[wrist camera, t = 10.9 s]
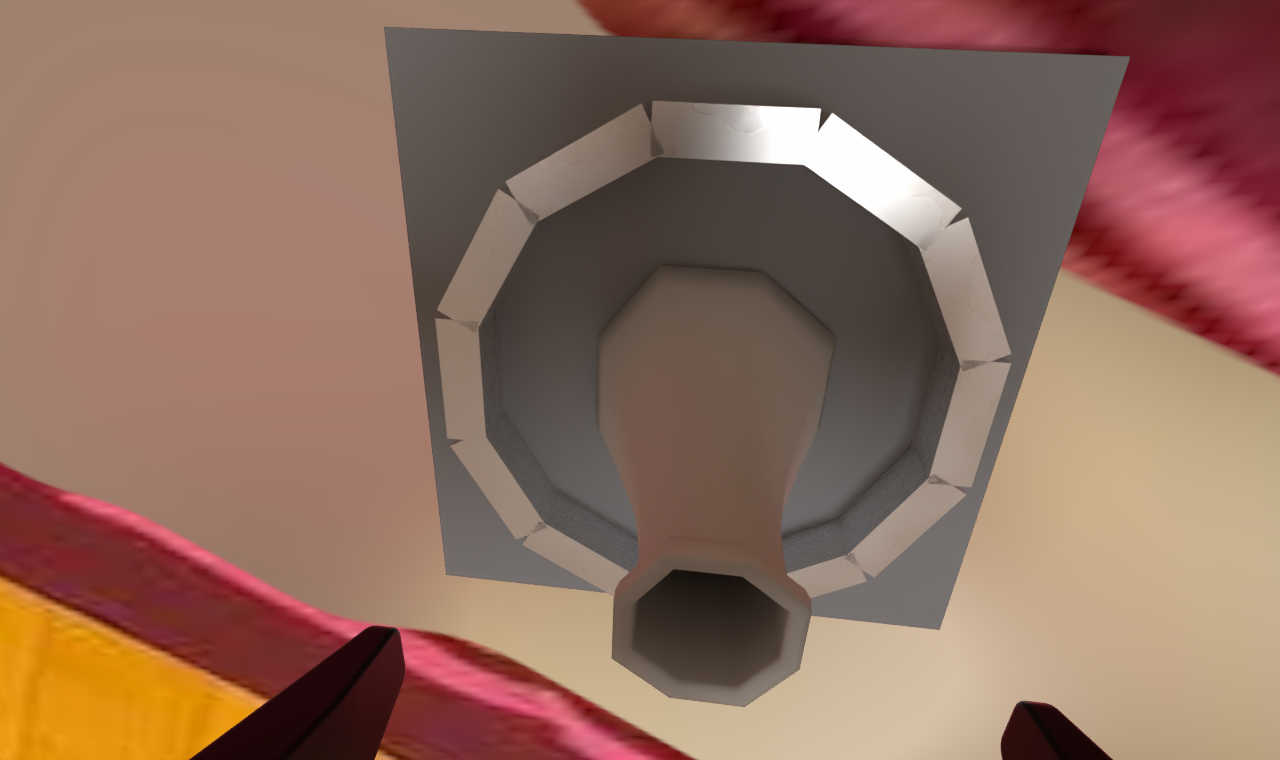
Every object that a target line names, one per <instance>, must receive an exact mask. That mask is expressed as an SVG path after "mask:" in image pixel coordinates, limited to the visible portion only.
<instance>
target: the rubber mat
mask: <svg viewBox="0 0 1280 760" xmlns="http://www.w3.org/2000/svg"><path fill="white" fill-rule="evenodd" d="M384 30H385V39H386V48H387V57H388V66H389V74H390V83H391V92H392V101H393V110H394V118H395V127H396V135H397V145H398V154H399V162H400V171H401V180H402V189H403V198H404V206H405V215H406V224H407V232H408V242H409V250H410V259H411V268H412V277H413V285H414V294H415V303H416V312H417V321H418V330H419V338H420V347H421V355H422V365H423V374H424V382H425V391H426V399H427V408H428V418H429V426H430V435H431V444H432V453H433V460H434V461H433V462H434V470H435V479H436V488H437V497H438V505H439V514H440V523H441V532H442V540H443V549H444V557H445V567H446V575H453V576H462V577H470V578H479V579H488V580H498V581H506V582H515V583H524V584H533V585H542V586H551V587H560V588H569V589H578V590H587V591H596V592H605V591H603V590H602V589H600V588H598V587H596V586H594V585H593V584H591V583H589V582H587V581H586V580H584V579H582V578H580V577H578V576H577V575H575V574H573V573H571V572H570V571H568V570H566V569H564V568H563V567H561V566H559V565H557V564H555V563H554V562H552V561H550V560H548V559H547V558H545V557H543V556H541V555H539V554H538V553H536V552H534V551H532V550H531V549H529V548H527V547H525V546H523V545H522V544H523V542H524V539H525V537H526V536H524V537H522V538H519V539H516V538H515V537H514V536H513V534H512V533H511V531H510V530H509V529H508V527H507V526H506V524H505V523H504V521H503V520H502V519H501V517H500V516H499V514H498V513H497V511H496V510H495V509H494V507H493V506H492V504H491V503H490V502H489V500H488V499H487V497H486V496H485V494H484V493H483V492H482V490H481V489H480V487H479V486H478V485H477V483H476V482H475V480H474V479H473V477H472V476H471V475H470V473H469V472H468V470H467V469H466V468H465V466H464V465H463V463H462V462H461V460H460V459H459V458H458V456H457V455H456V453H455V452H454V450H453V449H452V448H451V444H452V443H453V442H454V440H455V439H448V438H447V430H446V420H445V410H444V400H443V390H442V380H441V370H440V360H439V350H438V341H437V331H436V321H435V318H436V317H438V316H439V315H440V314H441V312H440V311H438V310H437V308H438V306H439V304H440V302H441V300H442V298H443V297H444V295H445V293H446V291H447V289H448V287H449V285H450V283H451V281H452V279H453V277H454V275H455V273H456V271H457V269H458V267H459V265H460V263H461V261H462V259H463V257H464V255H465V253H466V251H467V249H468V247H469V245H470V243H471V242H472V240H473V238H474V236H475V234H476V232H477V230H478V228H479V226H480V224H481V222H482V220H483V218H484V216H485V214H486V212H487V210H488V208H489V206H490V204H491V202H492V200H493V198H494V196H495V194H496V192H497V190H498V189H499V188H501V187H504V186H506V185H507V184H506V182H505V181H507V180H509V179H510V178H512V177H514V176H516V175H517V174H519V173H521V172H523V171H524V170H526V169H528V168H530V167H531V166H533V165H535V164H537V163H538V162H540V161H542V160H544V159H545V158H547V157H549V156H551V155H552V154H554V153H556V152H558V151H559V150H561V149H563V148H565V147H566V146H568V145H570V144H571V143H573V142H575V141H577V140H578V139H580V138H582V137H584V136H585V135H587V134H589V133H591V132H592V131H594V130H596V129H598V128H599V127H601V126H603V125H605V124H606V123H608V122H610V121H612V120H613V119H615V118H617V117H619V116H620V115H622V114H624V113H626V112H627V111H629V110H631V109H633V108H634V107H636V106H638V105H640V104H642V103H649V105H650V107H651V109H652V101H679V102H700V103H721V104H742V105H763V106H784V107H804V108H817V109H821V111H822V112H830V113H833V114H834V115H836V116H837V117H839V118H840V119H841V120H843V121H844V122H845V123H847V124H848V125H849V126H851V127H852V128H853V129H855V130H856V131H858V132H859V133H860V134H862V135H863V136H864V137H866V138H867V139H868V140H870V141H871V142H872V143H874V144H875V145H877V146H878V147H879V148H881V149H882V150H883V151H885V152H886V153H887V154H889V155H890V156H891V157H893V158H894V159H895V160H897V161H898V162H900V163H901V164H902V165H904V166H905V167H906V168H908V169H909V170H910V171H912V172H913V173H914V174H916V175H917V176H919V177H920V178H921V179H923V180H924V181H925V182H927V183H928V184H929V185H931V186H932V187H933V188H935V189H936V190H938V191H939V192H940V193H942V194H943V195H944V196H946V197H947V198H948V199H950V200H951V201H952V202H954V203H955V204H956V205H958V206H959V207H961V208H962V209H961V210H960V211H959V213H960V214H962V215H965V216H967V217H968V218H969V222H970V225H971V228H972V231H973V234H974V237H975V241H976V244H977V247H978V250H979V253H980V256H981V259H982V263H983V266H984V269H985V272H986V275H987V278H988V282H989V285H990V288H991V291H992V294H993V297H994V301H995V304H996V307H997V310H998V313H999V316H1000V320H1001V323H1002V326H1003V329H1004V332H1005V335H1006V339H1007V342H1008V345H1009V348H1010V351H1011V354H1010V355H1007V356H1004V357H1005V358H1006V359H1007V360H1008V361H1009V362H1010V363H1011V365H1010V368H1009V372H1008V375H1007V378H1006V381H1005V384H1004V387H1003V390H1002V393H1001V397H1000V400H999V403H998V406H997V409H996V412H995V415H994V418H993V422H992V425H991V428H990V431H989V434H988V437H987V440H986V443H985V447H984V450H983V453H982V456H981V459H980V462H979V465H978V468H977V472H976V475H975V478H974V481H973V484H972V487H962V488H963V490H964V492H965V493H966V496H965V497H963V498H962V499H961V500H960V501H959V502H958V503H957V504H956V505H955V506H953V507H952V508H951V509H950V510H949V511H948V512H947V513H946V514H944V515H943V516H942V517H941V518H940V519H939V520H938V521H937V522H936V523H934V524H933V525H932V526H931V527H930V528H929V529H928V530H927V531H926V532H924V533H923V534H922V535H921V536H920V537H919V538H918V539H917V540H916V541H914V542H913V543H912V544H911V545H910V546H909V547H908V548H907V549H906V550H904V551H903V552H902V553H901V554H900V555H899V556H898V557H897V558H895V559H894V560H893V561H892V562H891V563H890V564H889V565H888V566H887V567H885V568H884V569H883V570H882V571H881V572H880V573H879V574H878V575H877V576H875V577H873V576H871V575H870V574H868V573H866V572H865V571H864V574H865V577H866V580H867V582H863V583H860V584H857V585H853V586H850V587H847V588H843V589H840V590H836V591H833V592H830V593H826V594H823V595H820V596H816V597H813V598H810V599H811V606H812V613H811V616H820V617H829V618H838V619H848V620H856V621H865V622H875V623H883V624H891V625H900V626H910V627H918V628H927V629H936V630H939V629H940V627H941V624H942V621H943V618H944V615H945V612H946V609H947V606H948V603H949V600H950V597H951V594H952V591H953V588H954V585H955V582H956V579H957V576H958V573H959V570H960V567H961V564H962V561H963V558H964V555H965V552H966V549H967V546H968V543H969V540H970V537H971V533H972V531H973V528H974V525H975V521H976V519H977V516H978V513H979V510H980V507H981V504H982V501H983V498H984V495H985V492H986V489H987V486H988V483H989V480H990V477H991V474H992V471H993V468H994V465H995V462H996V459H997V456H998V453H999V450H1000V447H1001V444H1002V441H1003V437H1004V435H1005V432H1006V429H1007V426H1008V423H1009V419H1010V417H1011V413H1012V410H1013V407H1014V404H1015V401H1016V399H1017V395H1018V392H1019V389H1020V386H1021V383H1022V380H1023V377H1024V374H1025V371H1026V368H1027V365H1028V362H1029V359H1030V356H1031V353H1032V350H1033V347H1034V344H1035V341H1036V338H1037V335H1038V332H1039V329H1040V326H1041V323H1042V320H1043V317H1044V314H1045V311H1046V308H1047V305H1048V302H1049V299H1050V296H1051V293H1052V290H1053V287H1054V284H1055V281H1056V278H1057V275H1058V272H1059V269H1060V266H1061V263H1062V260H1063V257H1064V254H1065V251H1066V248H1067V245H1068V242H1069V239H1070V236H1071V233H1072V230H1073V227H1074V224H1075V221H1076V218H1077V215H1078V212H1079V209H1080V206H1081V203H1082V200H1083V197H1084V194H1085V191H1086V188H1087V185H1088V182H1089V179H1090V176H1091V173H1092V170H1093V167H1094V164H1095V161H1096V158H1097V155H1098V152H1099V149H1100V146H1101V143H1102V140H1103V137H1104V134H1105V131H1106V128H1107V125H1108V122H1109V119H1110V116H1111V113H1112V110H1113V107H1114V104H1115V101H1116V98H1117V95H1118V92H1119V89H1120V86H1121V83H1122V80H1123V77H1124V74H1125V71H1126V68H1127V65H1128V62H1129V59H1130V57H1124V56H1099V55H1074V54H1049V53H1024V52H999V51H974V50H949V49H924V48H898V47H873V46H848V45H823V44H798V43H773V42H748V41H723V40H698V39H673V38H648V37H623V36H598V35H572V34H548V33H547V34H546V33H522V32H521V33H520V32H496V31H472V30H447V29H446V30H445V29H423V28H421V29H419V28H396V27H384ZM659 265H663V266H678V267H692V268H706V269H720V270H735V271H749V272H763V273H764V274H765V275H766V276H768V277H769V278H770V279H771V280H772V281H773V282H774V283H775V284H777V285H778V286H779V287H780V288H781V289H782V290H783V291H785V292H786V293H787V294H788V295H789V296H790V297H791V298H792V299H794V300H795V301H796V302H797V303H798V304H799V305H800V306H802V307H803V308H804V309H805V310H806V311H807V312H808V313H810V314H811V315H812V316H813V317H814V318H815V319H816V320H817V321H819V322H820V323H821V324H822V325H823V326H824V327H825V328H827V329H828V330H829V331H830V332H831V333H832V334H833V335H834V336H836V337H837V338H836V343H835V348H834V354H833V359H832V364H831V370H830V375H829V380H828V386H827V391H826V396H825V401H824V407H823V412H822V417H821V423H820V427H819V429H818V432H817V434H816V437H815V439H814V441H813V443H812V445H811V447H810V449H809V451H808V453H807V455H806V457H805V459H804V461H803V463H802V465H801V467H800V469H799V471H798V474H797V476H796V479H795V482H794V484H793V487H792V489H791V492H790V494H789V497H788V499H787V502H786V504H785V507H784V509H783V512H782V520H781V529H780V531H781V536H784V535H787V534H790V533H794V532H797V531H800V530H803V529H806V528H809V527H812V526H815V525H818V524H821V523H824V522H827V521H830V520H833V519H836V518H838V517H839V516H840V515H841V514H842V513H843V512H844V511H845V510H846V509H847V508H848V507H849V506H850V505H851V504H852V503H853V502H854V501H855V500H856V499H857V498H858V497H859V496H860V495H861V494H862V493H863V492H864V491H865V490H866V489H867V488H868V487H869V486H870V485H871V484H872V483H873V482H874V481H875V480H876V479H877V478H878V477H879V476H880V475H881V474H882V473H883V472H884V471H885V470H886V469H887V468H888V467H889V466H890V465H891V464H892V463H893V462H894V461H895V460H896V459H897V458H898V457H899V456H900V455H901V454H902V453H903V452H904V451H905V450H906V449H907V448H908V447H909V446H910V445H911V442H912V438H913V434H914V430H915V426H916V422H917V419H918V415H919V411H920V407H921V403H922V399H923V396H924V392H925V388H926V384H927V380H928V377H929V373H930V369H931V365H932V361H933V357H934V354H935V350H936V346H937V342H938V341H937V338H936V335H935V332H934V329H933V327H932V324H931V321H930V318H929V316H928V313H927V310H926V307H925V304H924V302H923V299H922V296H921V293H920V290H919V288H918V285H917V282H916V279H915V277H914V274H913V271H912V268H911V265H910V263H909V260H908V257H907V254H906V251H905V249H904V246H903V243H902V240H901V238H900V235H899V232H897V231H896V230H895V229H893V228H892V227H890V226H889V225H888V224H886V223H885V222H884V221H882V220H881V219H879V218H878V217H877V216H875V215H874V214H872V213H871V212H870V211H868V210H867V209H865V208H864V207H863V206H861V205H860V204H858V203H857V202H856V201H854V200H853V199H851V198H850V197H849V196H847V195H846V194H844V193H843V192H842V191H840V190H839V189H837V188H836V187H835V186H833V185H832V184H831V183H829V182H828V181H826V180H825V179H824V178H822V177H821V176H819V175H818V174H817V173H815V172H814V171H812V170H811V169H810V168H808V167H807V166H805V165H798V164H780V163H762V162H744V161H726V160H707V159H689V158H671V157H656V158H654V159H653V160H651V161H649V162H647V163H645V164H643V165H641V166H640V167H638V168H636V169H634V170H632V171H630V172H628V173H627V174H625V175H623V176H621V177H619V178H617V179H616V180H614V181H612V182H610V183H608V184H606V185H604V186H603V187H601V188H599V189H597V190H595V191H593V192H592V193H590V194H588V195H586V196H584V197H582V198H580V199H579V200H577V201H575V202H573V203H571V204H569V205H568V206H566V207H564V208H562V209H560V210H558V211H556V212H555V213H553V214H551V215H550V217H549V219H548V221H547V222H546V224H545V226H544V228H543V230H542V231H541V233H540V235H539V237H538V239H537V240H536V242H535V244H534V246H533V248H532V249H531V251H530V253H529V255H528V256H527V258H526V260H525V262H524V264H523V265H522V267H521V269H520V271H519V273H518V274H517V276H516V278H515V280H514V282H513V283H512V285H511V287H510V289H509V290H508V292H507V294H506V296H505V298H504V299H503V301H502V303H501V305H500V307H499V322H500V340H501V358H502V376H503V394H504V409H505V411H506V412H507V414H508V416H509V417H510V419H511V420H512V422H513V423H514V425H515V426H516V428H517V429H518V431H519V432H520V434H521V435H522V437H523V438H524V440H525V442H526V443H527V445H528V446H529V448H530V449H531V451H532V452H533V454H534V455H535V457H536V458H537V460H538V461H539V463H540V465H541V466H542V468H543V469H544V471H545V472H546V474H547V475H548V477H549V478H550V480H551V481H552V483H553V484H554V486H555V487H556V489H557V491H559V492H561V493H562V494H564V495H566V496H568V497H569V498H571V499H573V500H574V501H576V502H578V503H580V504H581V505H583V506H585V507H586V508H588V509H590V510H592V511H593V512H595V513H597V514H598V515H600V516H602V517H604V518H605V519H607V520H609V521H610V522H612V523H614V524H616V525H617V526H619V527H621V528H622V529H624V530H626V531H628V532H629V533H631V534H633V535H634V536H636V537H637V527H636V517H635V514H634V512H633V509H632V506H631V504H630V501H629V498H628V496H627V493H626V491H625V488H624V485H623V483H622V480H621V477H620V475H619V472H618V470H617V467H616V465H615V463H614V460H613V458H612V456H611V454H610V452H609V450H608V448H607V446H606V444H605V442H604V440H603V438H602V435H601V433H600V431H599V428H598V426H597V423H596V398H597V337H598V336H599V335H600V334H601V333H602V331H603V330H604V329H605V328H606V327H607V326H608V324H609V323H610V322H611V321H612V320H613V319H614V317H615V316H616V315H617V314H618V313H619V312H620V310H621V309H622V308H623V307H624V306H625V305H626V304H627V302H628V301H629V300H630V299H631V298H632V297H633V295H634V294H635V293H636V292H637V291H638V290H639V288H640V287H641V286H642V285H643V284H644V283H645V281H646V280H647V279H648V278H649V277H650V276H651V275H652V273H653V272H654V271H655V270H656V269H657V268H658V266H659ZM605 593H607V592H605Z"/></svg>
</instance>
